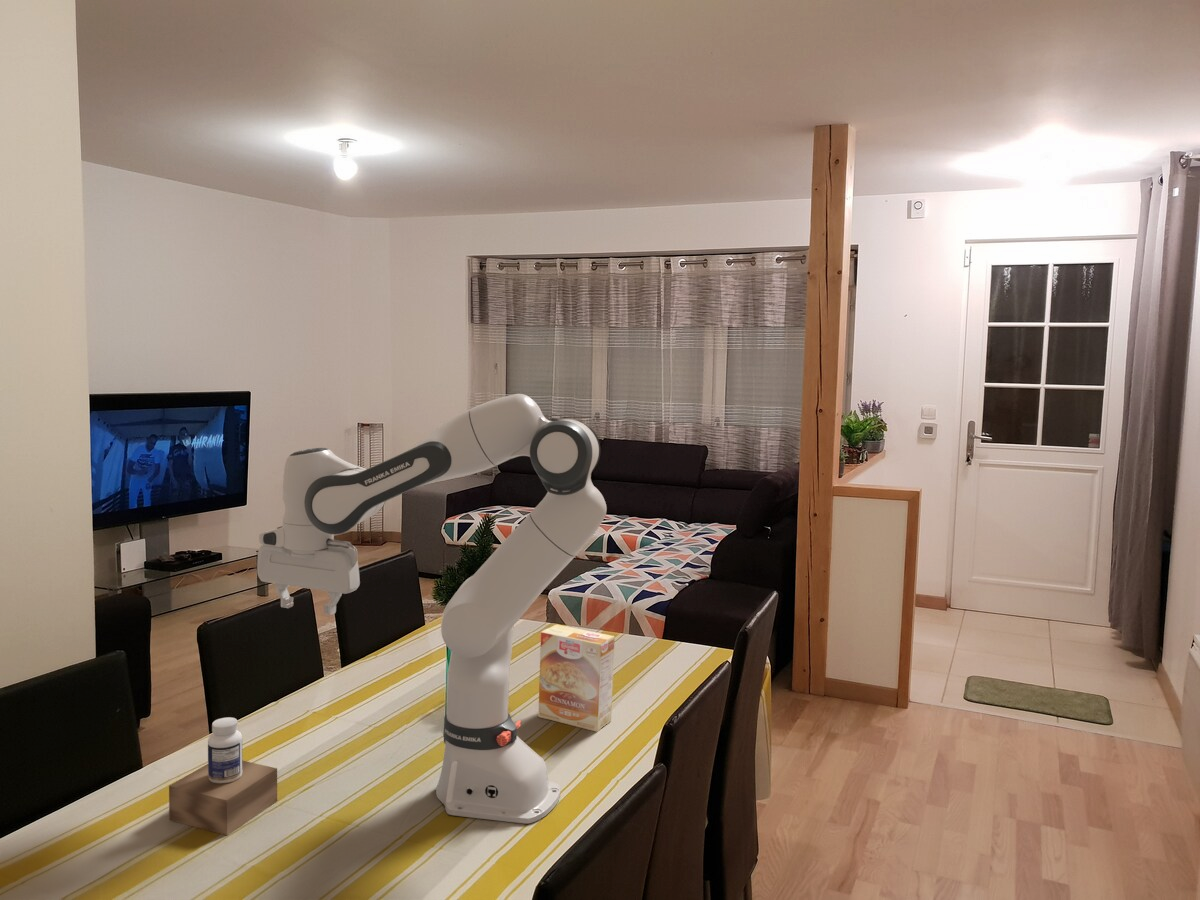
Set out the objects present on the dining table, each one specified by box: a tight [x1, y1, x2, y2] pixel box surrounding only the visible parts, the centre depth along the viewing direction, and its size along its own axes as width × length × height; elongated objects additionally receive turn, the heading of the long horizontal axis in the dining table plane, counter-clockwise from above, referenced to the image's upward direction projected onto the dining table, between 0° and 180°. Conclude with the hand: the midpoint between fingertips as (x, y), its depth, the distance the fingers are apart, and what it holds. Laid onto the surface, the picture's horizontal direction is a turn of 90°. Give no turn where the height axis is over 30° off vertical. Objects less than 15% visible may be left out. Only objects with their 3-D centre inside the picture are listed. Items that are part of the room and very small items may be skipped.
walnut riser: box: [168, 760, 278, 836], centre depth 150 cm, size 12×12×6 cm
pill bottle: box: [207, 716, 244, 784], centre depth 149 cm, size 5×5×10 cm
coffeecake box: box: [538, 623, 615, 733], centre depth 192 cm, size 15×7×20 cm, turn 63°
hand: (308, 610), depth 161 cm, fingers open, 8 cm apart
